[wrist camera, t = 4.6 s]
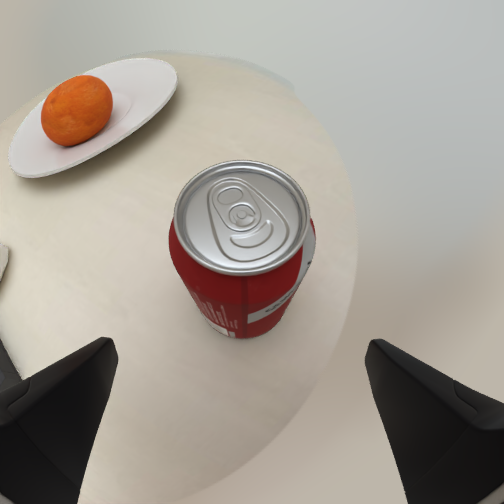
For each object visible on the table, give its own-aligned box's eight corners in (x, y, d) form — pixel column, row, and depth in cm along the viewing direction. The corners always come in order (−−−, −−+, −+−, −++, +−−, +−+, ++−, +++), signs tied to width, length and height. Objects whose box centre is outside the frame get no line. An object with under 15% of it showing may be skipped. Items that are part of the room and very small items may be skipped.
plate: (84, 79, 40) (73, 46, 32) (209, 73, 37) (206, 28, 30) (-6, 184, 28) (-33, 150, 20) (116, 208, 25) (81, 148, 18)
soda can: (223, 355, 20) (196, 323, 9) (187, 279, 22) (140, 183, 11) (301, 314, 21) (357, 242, 10) (260, 246, 24) (272, 135, 13)
